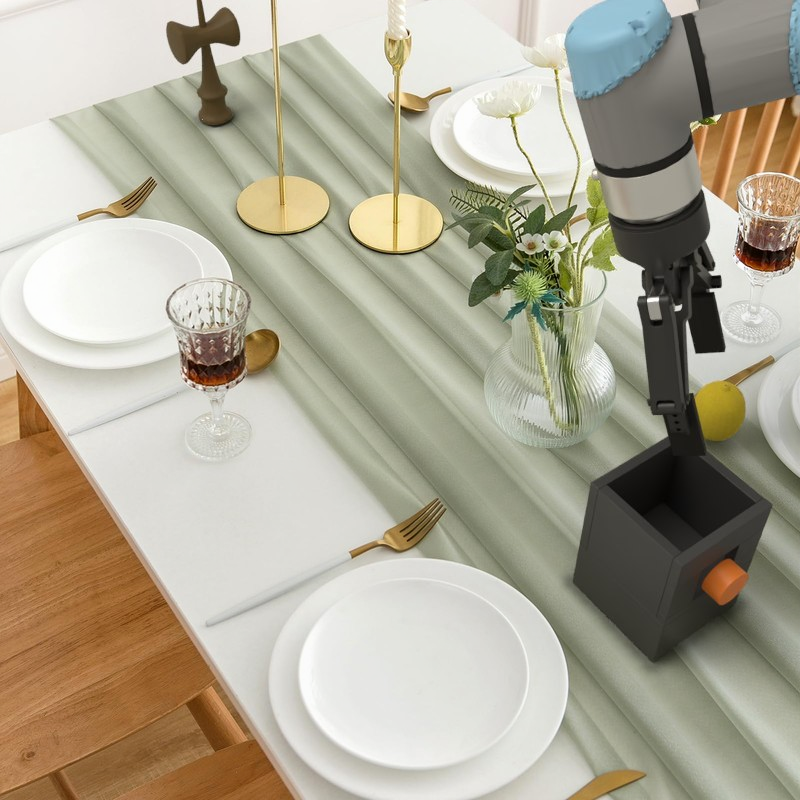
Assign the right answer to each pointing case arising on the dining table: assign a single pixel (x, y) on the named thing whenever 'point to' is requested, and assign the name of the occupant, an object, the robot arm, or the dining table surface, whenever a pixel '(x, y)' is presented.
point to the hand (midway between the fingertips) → (700, 399)
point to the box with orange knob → (665, 543)
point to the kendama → (206, 57)
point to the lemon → (720, 410)
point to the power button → (725, 581)
